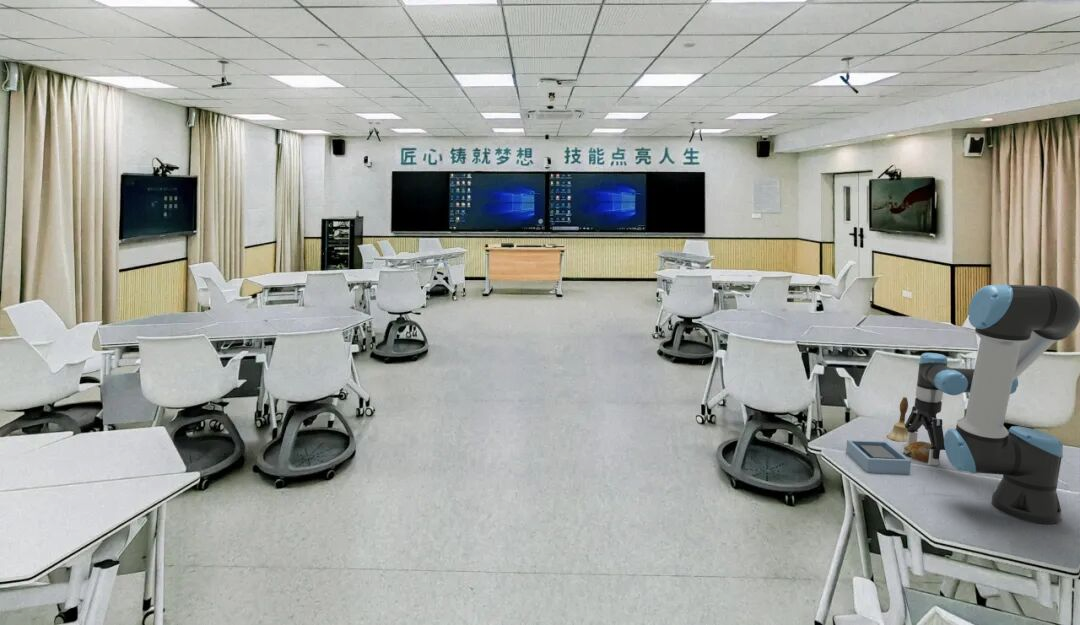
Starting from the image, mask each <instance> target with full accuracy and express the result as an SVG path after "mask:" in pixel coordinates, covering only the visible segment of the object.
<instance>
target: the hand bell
mask: <svg viewBox="0 0 1080 625" xmlns="http://www.w3.org/2000/svg"><path fill="white" fill-rule="evenodd" d="M908 409H909V401H908V398H907V397H904V396H903V397H902V399H901V401H900V403H899V413H900V415H899V420H898V422H895V423H894V425H893V428H892V430H891V431H890V432H888V434H887V435H886V437H887V438H888V439H889V440H891V441H894V442H898V443H907V441H908V430H907V428H905V424H906V422H905V420H906V414H907V412H908Z"/></svg>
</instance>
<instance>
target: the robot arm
mask: <svg viewBox="0 0 1080 625" xmlns="http://www.w3.org/2000/svg"><path fill="white" fill-rule="evenodd" d="M967 314H968V321H969V324H970V326H972V327H973V328H975V330H974V332H975V334H976V335H977V336H978V337H979V338H980V341H979V345H978V350H977V353H976V354H977V356H976V359H975V360H976V361H975V364H974V368H961V367H958V368H956V367H950V366H947V365H948V364H949V363H948V357H947V356H946V355H944V354H941V353H937V352H935V353H934V352H924V353H922V354H921V355H920V358H919V363H918V371H917V382H916V390H915V399H914V406H912V407H911V412H910V414H909V417H908V418H907V421H906V422H905V428H907V430H908V441H907V442H906V447H907V446H908V445H909V444H911V443H913V442H918V434H919V429H921V427H922V426H923V427H924V429H925V430H926V432H927V435H928V439H929V441H930V442H929V443H930V444H931V446H932V447H931V448H930V453H929V461H928V462H927V463H928V466H939V464H938V462H939V460H940V455H941V451H945V454H946V457H947V459H948V462H949V463H950V464H951V466H952V467H953V468H954V469H956V470H957V471H960V472H964V473H965V472H967V473H970V474H975V473H976V474H977V473H978V474H987V475H988V474H989V475H1000V476H1002V478H1001V480H1000V482H999V484H998V485H997V486H996V489H995V491H994V492H993V493H992V494H991V505H992V506H993V507H994V508H995V509H996V510H998V511H1000V512H1001V513H1003V514H1005V515H1008V516H1010V517H1013V518H1015V519H1019V520H1021V521H1025V522H1030V523H1035V524H1043V525H1044V524H1045V525H1051V524H1057V523H1059V522H1061V520H1062V514H1063V513H1062V512H1063V511H1062V508H1061V507H1062V506H1061V504H1060V501H1059V497H1058V492H1057V489H1058V484H1059V476H1060V470H1061V464H1062V458H1064V454H1063V452H1064V450H1063V448H1064V446H1063V442H1062V441H1061V439H1059V438H1058V437H1056V436H1054V435H1051V434H1049V433H1047V432H1044V431H1041V430H1038V429H1033V428H1031V427H1030V428H1029V427H1025V426H1018V425H1014V426H1013V425H1012V426H1011V427H1010V428H1009V429H1007V427H1005V425H1004V423H1005V418H1006V415H1007V410H1008V405H1009V402H1010V401H1009V399H1010V397H1011V396H1010V395H1013V394H1014V393H1016V391H1017V388H1018V387H1019V380H1018V379H1019V378H1018V377H1019V376H1020V375H1022V373H1024V372H1025V371H1026V370H1027V369H1028V368H1029V367H1030V366H1031V365H1032V364H1033V363H1034V362H1035V361H1036V360H1037V359H1038V358H1039V357H1040V356H1042V355H1043V354H1044V353H1046V351H1047V350H1048V349H1049V348H1051V346H1052V345H1054V344H1055V343H1056V342H1057V341H1063V340H1065V339H1066V338H1068V337H1069V336H1070V335H1071V334H1072V333H1073V332H1074V331H1075V330H1076V328H1077V327H1078V325H1079V323H1080V304H1079V302H1078V300H1077V299H1076V297H1074V296H1073V294H1071V293H1070V292H1068V291H1067V290H1066V289H1063V288H1060V287H1058V286H1056V285H1055V286H1053V285H1030V284H1029V285H1028V284H1025V285H1024V284H1005V283H1003V284H990V285H989V284H987V285H985V286H982V287H981V288H979V289H978V290H977V291H976V292H975V293H974V294H973V296H972V298H971V300H970V302H969V305H968V312H967ZM963 393H966V394H968V400H967V405H966V410H965V415H964V417H962V418H959V419H958V420H957V421H956V422H957V423H956V427H955V428H951V429H947V430H946V431H945V433H944V430H943V419H942V418H937V414H939V413H941V411H942V406H943V401H942V400H943V397H944V396H943V395H944V394H946V395H949V396H959V395H961V394H963ZM939 463H940V462H939Z"/></svg>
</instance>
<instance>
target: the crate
mask: <svg viewBox="0 0 1080 625" xmlns="http://www.w3.org/2000/svg"><path fill="white" fill-rule="evenodd" d="M860 445H869V446H882V447H883V448H885V449H886V450H887V451H888V452H889V453H891V454H892V455H893V456H894V457H896V459H881V458H869V457H868V456H867V455H866V454H865V453H864V452H863V451H862V450H861V449H860ZM845 453H846V454H847V455H848V456H849V457H850V458H851V459H852V461H855V463H856V464H857V465H858V466H859V467H860V468H861V469H863V470H864V471H865V473H869V474H889V475H891V474H893V475H896V474H897V475H911V474H910V473H911V466H912V460H911V459H910V458H909V457H908V456H907V455H905V454H903V452H900V450H898V449H897V448H895V447H894V446H893V445H892V444H890V443H889V442H888V441H885V440H883V441H881V440H857V439H856V440H855V439H854V440H853V439H847V440H846V450H845Z"/></svg>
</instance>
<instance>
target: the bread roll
mask: <svg viewBox="0 0 1080 625" xmlns="http://www.w3.org/2000/svg"><path fill="white" fill-rule="evenodd" d="M931 447H932V446H931V442H926V441H922V440H921V441H917V442H913V443H911V444H909V445H908V446H907V445H906V446H904V451H903V452H902V454H903V455H904V456H906V457H907V458H909V459H912V460H914V461H918V462H923V463H928V461H929V453H930V448H931ZM939 464H940V462H938V465H939Z"/></svg>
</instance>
